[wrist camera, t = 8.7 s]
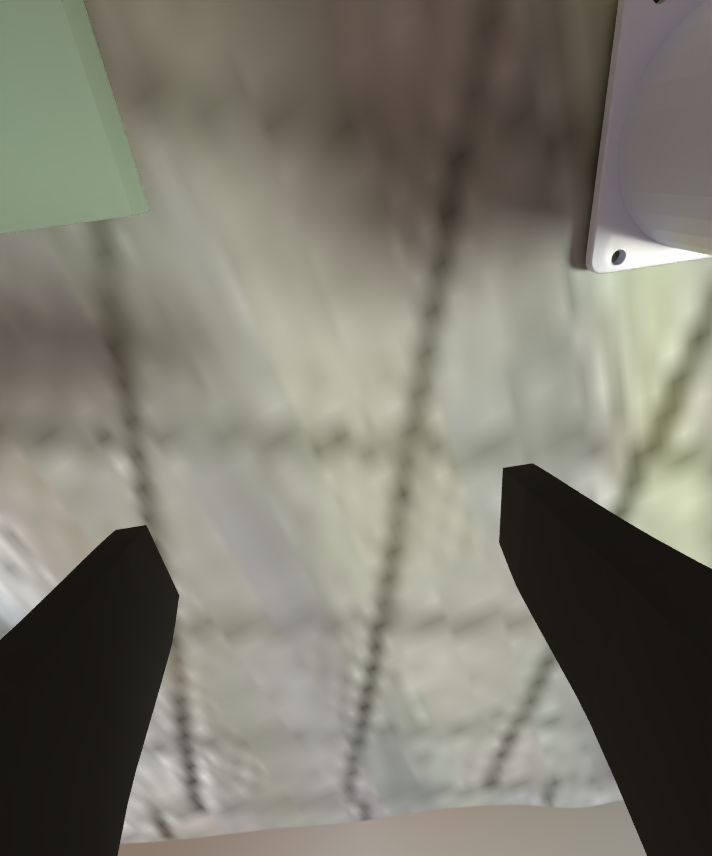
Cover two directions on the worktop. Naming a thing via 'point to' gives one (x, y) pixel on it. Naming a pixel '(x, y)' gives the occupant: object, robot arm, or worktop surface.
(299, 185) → the worktop surface
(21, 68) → the stand
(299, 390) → the worktop surface
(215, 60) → the worktop surface
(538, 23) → the worktop surface
